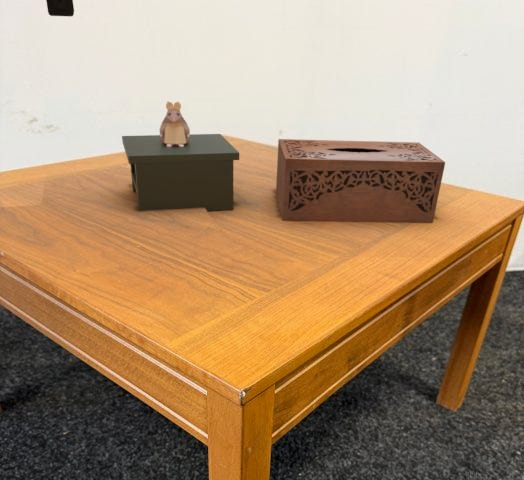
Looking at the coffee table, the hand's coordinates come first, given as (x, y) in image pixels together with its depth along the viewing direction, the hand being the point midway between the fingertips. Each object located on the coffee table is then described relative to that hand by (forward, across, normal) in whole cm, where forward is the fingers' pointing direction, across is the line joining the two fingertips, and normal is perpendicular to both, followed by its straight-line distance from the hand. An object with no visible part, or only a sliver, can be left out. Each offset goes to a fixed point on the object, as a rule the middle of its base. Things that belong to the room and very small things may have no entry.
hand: (62, 14), depth 76 cm
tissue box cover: (+28, +5, +45) cm, 54 cm away
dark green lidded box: (+28, -5, +16) cm, 33 cm away
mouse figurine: (+19, -6, +16) cm, 25 cm away
